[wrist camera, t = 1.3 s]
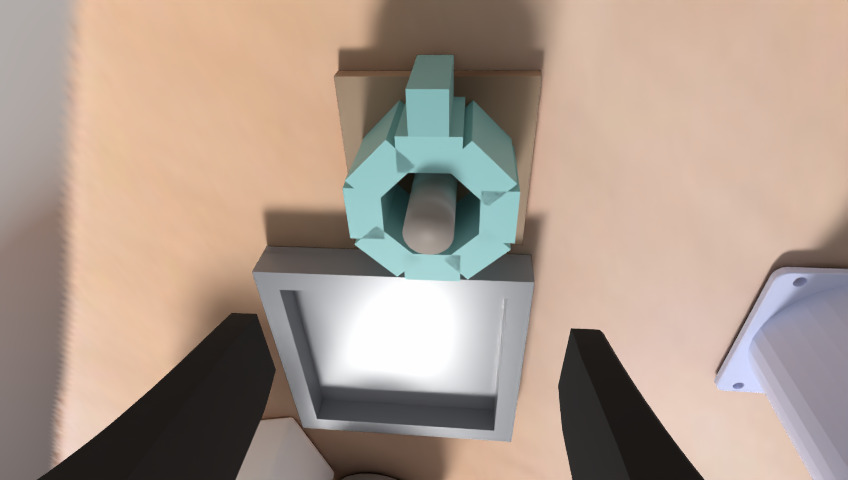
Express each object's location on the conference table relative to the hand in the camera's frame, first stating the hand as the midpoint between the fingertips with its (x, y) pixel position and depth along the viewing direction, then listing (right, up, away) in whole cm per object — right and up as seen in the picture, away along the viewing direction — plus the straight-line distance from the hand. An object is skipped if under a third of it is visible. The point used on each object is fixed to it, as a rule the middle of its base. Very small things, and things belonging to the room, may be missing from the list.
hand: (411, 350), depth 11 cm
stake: (+1, +6, +7) cm, 9 cm away
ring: (+1, +5, +7) cm, 9 cm away
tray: (-1, -3, +14) cm, 14 cm away
